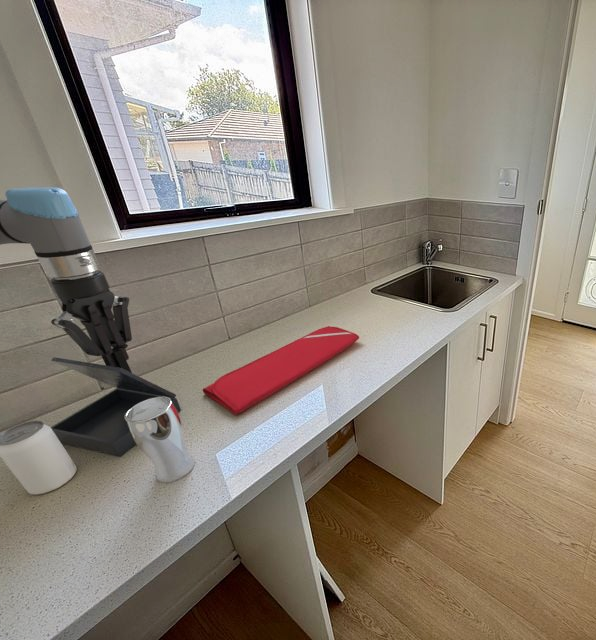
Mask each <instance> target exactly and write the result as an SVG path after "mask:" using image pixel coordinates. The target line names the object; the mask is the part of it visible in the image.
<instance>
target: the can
mask: <svg viewBox="0 0 596 640" xmlns="http://www.w3.org/2000/svg"><path fill="white" fill-rule="evenodd" d="M50 427H51V426H49V425H48V424H45V423H44V422H43V421H42V420H29V421H25V422H23V423H19V424H16V425H14V426H12V427H10V428H7V429H6V430H4V431H3V432H1V433H0V459H1V460H2V461H3V462H4V464H5V465H6V466H7V467H8V469H9V470H10V471H11V473H12V474H13V476H15V478H16V479H17V480H18V482H19V483H20V484H21V485H22V487H23V488H24V489H25V490H26V492H27V493H28V494H29V495H45V494H48V493H52V492H53V491H55V490H59V488H61V487H64V486H65V485H66V484H67V483H68V482H70V481H71V480H72V479H73V477H74V476H75V475H76V473H77V470H78V469H77V466H76V464H75V463H74V461H73V459H72V458H71V456H70V455H69V453H68V452H67V450H66V449H65V447H64V444H61V442H60V441H59V439H58V438H57V436H56V435H55V433H54V432H53V430H52V429H51V428H50Z"/></svg>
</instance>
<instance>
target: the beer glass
mask: <svg viewBox="0 0 596 640" xmlns="http://www.w3.org/2000/svg"><path fill="white" fill-rule="evenodd" d="M125 420H126V422H127V425H128V428H129V431H130V433H131V435H132V438H133V439H134V441H135V443H136V444H137V445H136V446H137V447H138V448H139V449H140V451H141V452H142V453H143V454H144V455H145V456H146V457H147V458H148V459H149V460H150V461H151V463H152V464H153V466H154V470H155V476H156V479H157V481H159V482H161V483H172V482H175V481H178V480H181V479H182V478H184V477H185V476H187V475H188V474H189V473H190V472H191V471H192V469H193V468H194V467H195V464H196V459H195V458H194V457H193V455H192V454H191V453H190V451H189V450H188V448H187V445H186V438H185V437H186V436H185V430H184V426H183V422H182V419H181V416H180V414H179V412H177V410H176V408H175V407H174V405H173V403H172V401H171V399H170V398H168V397H154V398H150V399H147V400H144V401H142V402H140V403H138V404H136V405H134V406H133V407H131V408H130V409H129V410H128V411H127V412H126V414H125Z"/></svg>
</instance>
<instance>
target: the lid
mask: <svg viewBox="0 0 596 640" xmlns="http://www.w3.org/2000/svg"><path fill="white" fill-rule="evenodd" d="M50 360H51V362H53V363H55V364H58V365H60V366H63V367H65V368H67V369H70V370H72V371H75V372H77V373H80V374H82V375H84V376H87V377H89V378H91V379H93V380H96V381H99V382H101V383H103V384H106V385H108V386H110V387H112V388H114V389H116V388H120V389H126V390H131V391H137V392H143V393H149V394H154V395H160V396H166V397H172V398H177V393H174V392H172V391H169V390H168V389H166V388H164V387H161V386H159V385H157V384H156V383H153V382H152V381H149V380H147V379H145V378H143V377H141V376H139V375H136V374H135V373H133V372H132V373H130V372H128V371H126V370H124V369H122V368H119V367H113V366H106V364H100V363H95V362H94V363H92V362H86V361H81V360H74V359H68V358H61V357H56V356H53V357H52V358H51V359H50Z"/></svg>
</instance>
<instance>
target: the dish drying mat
mask: <svg viewBox="0 0 596 640" xmlns="http://www.w3.org/2000/svg"><path fill="white" fill-rule="evenodd" d="M359 339H360V335H359V334H357V333H355V332H352V331H350V330H346V329H344V328H342V327H341V328H340V327H338V326H330V325H328V326H325V327H324V326H323V327H321V328H318V329H316V330H314V331H311V332H310V333H308V334H306V335H304V336H303V337H302V336H301V337H300V338H298V339H296V340H293V341H292V342H290V343H288V344H286V345H284V346H282V347H279V348H278V349H275V350H274V351H271V352H270V353H267V354H265V355H263V356H261V357H259V358H257V359H255V360H253V361H251V362H249V363H246V364H245V365H243V366H241V367H239V368H236V369H234V370H231V371H229V372H228V373H225V374H224V375H221V376H220V377H219V378H217V379H216V380H215V381H214V382H213V383H211V384H209V385H208V386H206V387H203V388H202V392H203V394H204V395H205V396H207V397H208V398H210V399H211V400H213V401H214V402H215V403H218V404H219V405H220V406H221V407H223V408H224V409H226V410H227V411H228V412H230V413H231V414H232V415H234V416H237V415H238V414H240V413H242V412H244V411H246V410H247V409H250V407H253V406H254V405H256V404H258V403H259V402H261V401H262V400H265V399H266V398H268V397H269V396H271V395H273V394H274V393H277V392H278V391H279V390H281V389H283V388H284V387H286V386H288V385H290V384H291V383H293V382H295V381H296V380H298V379H300V378H301V377H303V376H305V375H306V374H308V373H309V372H310V371H313V369H315V368H317V367H319V366H320V365H322V364H324V363H325V362H327V361H329V360H330V359H332V358H333V357H336V355H338V354H339V353H341V352H343V351H344V350H346V349H348V347H351V345H353V344H354V343H356V342H357V341H358V340H359Z"/></svg>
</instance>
